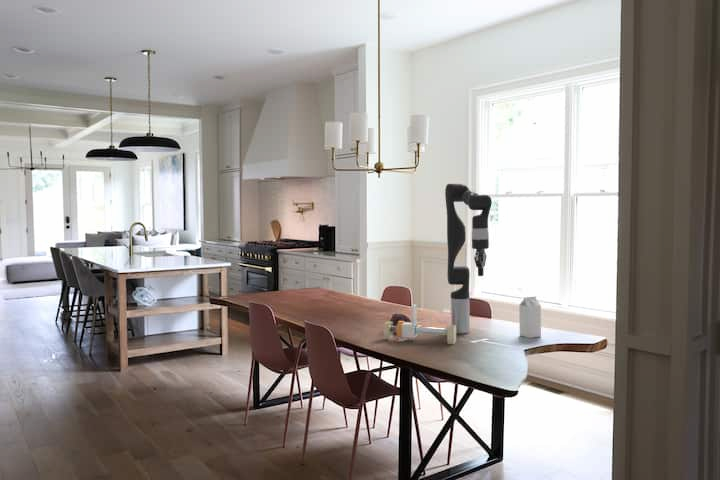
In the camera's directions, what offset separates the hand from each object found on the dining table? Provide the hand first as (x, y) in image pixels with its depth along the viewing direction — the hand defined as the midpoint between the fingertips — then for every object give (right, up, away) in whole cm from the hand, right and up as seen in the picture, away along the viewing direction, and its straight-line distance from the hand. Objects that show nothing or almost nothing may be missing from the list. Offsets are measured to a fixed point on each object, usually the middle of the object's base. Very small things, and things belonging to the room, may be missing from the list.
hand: (480, 275), depth 264 cm
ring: (-36, -30, +11) cm, 48 cm away
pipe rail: (-27, -31, +8) cm, 42 cm away
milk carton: (+27, -30, +13) cm, 42 cm away
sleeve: (-32, -29, +10) cm, 44 cm away
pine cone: (-34, -31, +30) cm, 55 cm away
